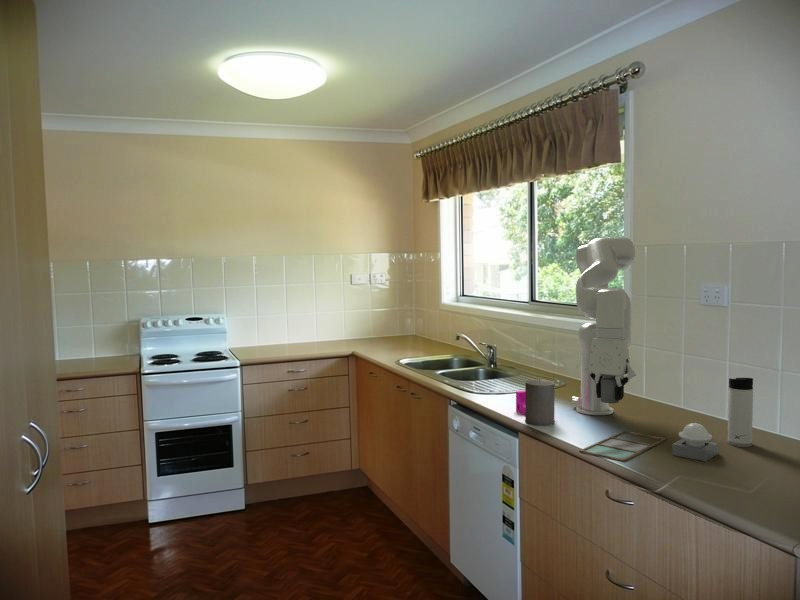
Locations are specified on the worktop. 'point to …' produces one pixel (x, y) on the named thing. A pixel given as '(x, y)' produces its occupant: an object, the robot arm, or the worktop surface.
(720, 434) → the worktop surface
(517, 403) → the toy block
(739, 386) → the travel mug
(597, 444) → the brown flat rectangular frame
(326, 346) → the worktop surface
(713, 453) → the collar
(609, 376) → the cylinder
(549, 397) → the pillar candle
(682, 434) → the dome
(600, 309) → the robot arm
